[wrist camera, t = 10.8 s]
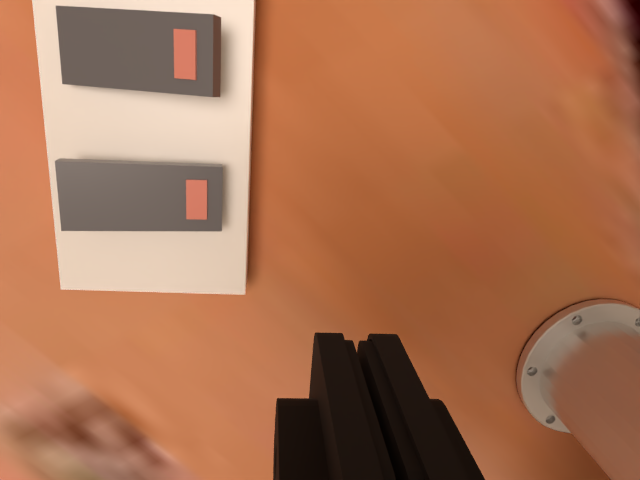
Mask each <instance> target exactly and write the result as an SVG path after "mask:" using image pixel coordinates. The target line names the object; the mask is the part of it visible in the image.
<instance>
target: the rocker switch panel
mask: <svg viewBox="0 0 640 480" xmlns="http://www.w3.org/2000/svg"><path fill="white" fill-rule="evenodd" d="M32 3H33V13H34V23H35V33H36V43H37V54H38V64H39V74H40V84H41V94H42V104H43V114H44V124H45V134H46V145H47V155H48V165H49V175H50V185H51V195H52V205H53V215H54V225H55V236H56V246H57V256H58V266H59V276H60V286H61V289H65V290H100V291H135V292H169V293H204V294H239V295H245V292H246V284H247V270H248V238H249V206H250V174H251V142H252V111H253V79H254V47H255V15H256V0H32ZM56 6H74V7H92V8H110V9H128V10H146V11H164V12H182V13H200V14H214V15H217V16H219V17H221V86H220V97H204V96H193V95H181V94H170V93H158V92H147V91H136V90H124V89H113V88H102V87H90V86H79V85H67V84H62V75H61V63H60V52H59V40H58V28H57V17H56ZM59 158H67V159H95V160H122V161H150V162H177V163H204V164H222V166H223V185H222V231H61V222H60V211H59V201H58V190H57V180H56V169H55V161H56V160H58V159H59Z"/></svg>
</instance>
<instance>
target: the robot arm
mask: <svg viewBox="0 0 640 480" xmlns="http://www.w3.org/2000/svg"><path fill="white" fill-rule="evenodd" d="M516 383H517V390H518V393H519V396H520V398H521V401H522V403H523V404H524V406H525V407H526V408H527V410H528V411H529V413H530V414H531V415H532V416H533V417H534V418H535V419H536V420H537V421H538V422H540V423H541V424H542V425H544V426H546V427H548V428H551V429H553V430H556V431H560V432H566V433H572V435H573V436H574V437H575V438H576V439H577V440H578V442H579V443H580V444H581V445H582V446H583V447H584V449H585V450H586V451H587V452H588V453H589V454H590V456H591V457H592V458H593V459H594V460H595V461H596V463H597V464H598V465H599V466H600V467H601V469H602V470H603V471H604V472H605V473H606V474H607V476H608V477H609V478H610V479H611V480H640V310H639V309H638V308H636V307H634V306H632V305H630V304H628V303H626V302H622V301H618V300H614V299H597V300H590V301H585V302H581V303H578V304H575V305H572V306H570V307H568V308H566V309H564V310H562V311H560V312H558V313H557V314H555V315H554V316H553V317H551V318H550V319H549V320H547V321H546V322H545V323H544V324H543V325H542V326H541V327H540V328H539V329H538V330H537V331H536V332H535V333H534V334H533V336H532V337H531V338H530V340H529V341H528V343H527V344H526V346H525V348H524V350H523V352H522V354H521V356H520V360H519V363H518V367H517V376H516ZM273 480H485V479H484V477H483V475H482V473H481V471H480V469H479V468H478V466H477V464H476V462H475V460H474V458H473V456H472V455H471V453H470V451H469V449H468V447H467V445H466V443H465V441H464V440H463V438H462V436H461V434H460V432H459V430H458V428H457V427H456V425H455V423H454V421H453V419H452V417H451V415H450V413H449V412H448V410H447V408H446V406H445V405H444V403H443V402H442V401H441V400H439V399H429V397H428V395H427V393H426V391H425V389H424V387H423V385H422V383H421V381H420V379H419V377H418V375H417V373H416V371H415V369H414V367H413V365H412V363H411V361H410V359H409V357H408V355H407V353H406V351H405V349H404V347H403V345H402V343H401V341H400V339H399V337H398V335H397V334H369V336H368V339H367V341H359V344H358V350H357V352H356V349H355V346H354V343H353V341H352V340H344V336H343V334H342V333H315V336H314V344H313V356H312V368H311V380H310V393H309V399H293V398H277V403H276V417H275V436H274V470H273Z"/></svg>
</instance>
